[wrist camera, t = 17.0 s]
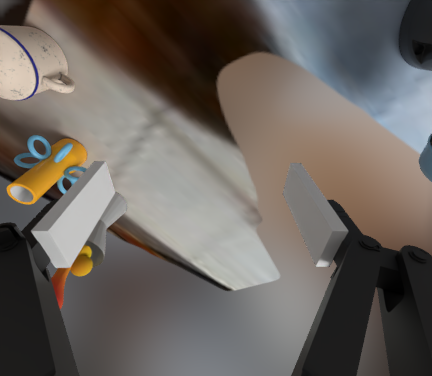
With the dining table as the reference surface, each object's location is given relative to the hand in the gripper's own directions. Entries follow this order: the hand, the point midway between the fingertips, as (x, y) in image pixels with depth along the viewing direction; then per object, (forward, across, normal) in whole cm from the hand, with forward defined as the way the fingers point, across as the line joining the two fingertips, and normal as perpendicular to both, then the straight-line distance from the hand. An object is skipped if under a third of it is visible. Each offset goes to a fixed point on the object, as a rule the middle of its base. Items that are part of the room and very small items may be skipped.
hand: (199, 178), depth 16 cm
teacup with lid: (+29, -26, +4) cm, 39 cm away
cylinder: (+29, -28, -12) cm, 42 cm away
